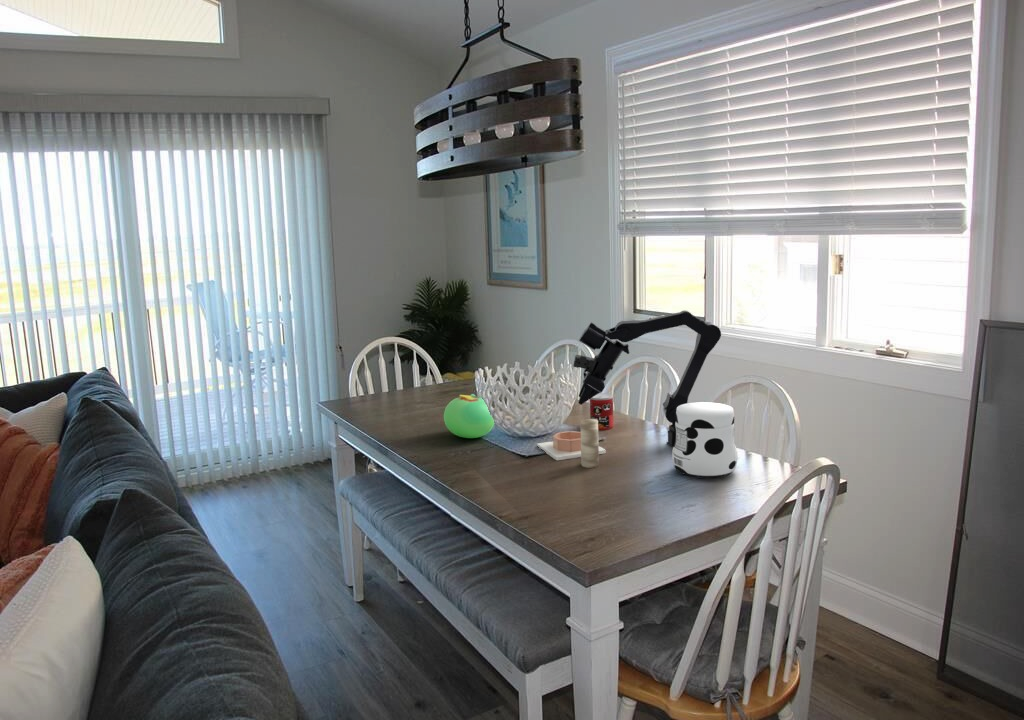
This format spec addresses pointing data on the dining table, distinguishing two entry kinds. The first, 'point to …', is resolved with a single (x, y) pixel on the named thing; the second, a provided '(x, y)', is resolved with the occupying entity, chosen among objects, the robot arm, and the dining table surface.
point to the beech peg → (589, 443)
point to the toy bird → (468, 417)
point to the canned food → (602, 410)
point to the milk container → (704, 440)
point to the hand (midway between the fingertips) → (579, 400)
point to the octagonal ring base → (565, 446)
